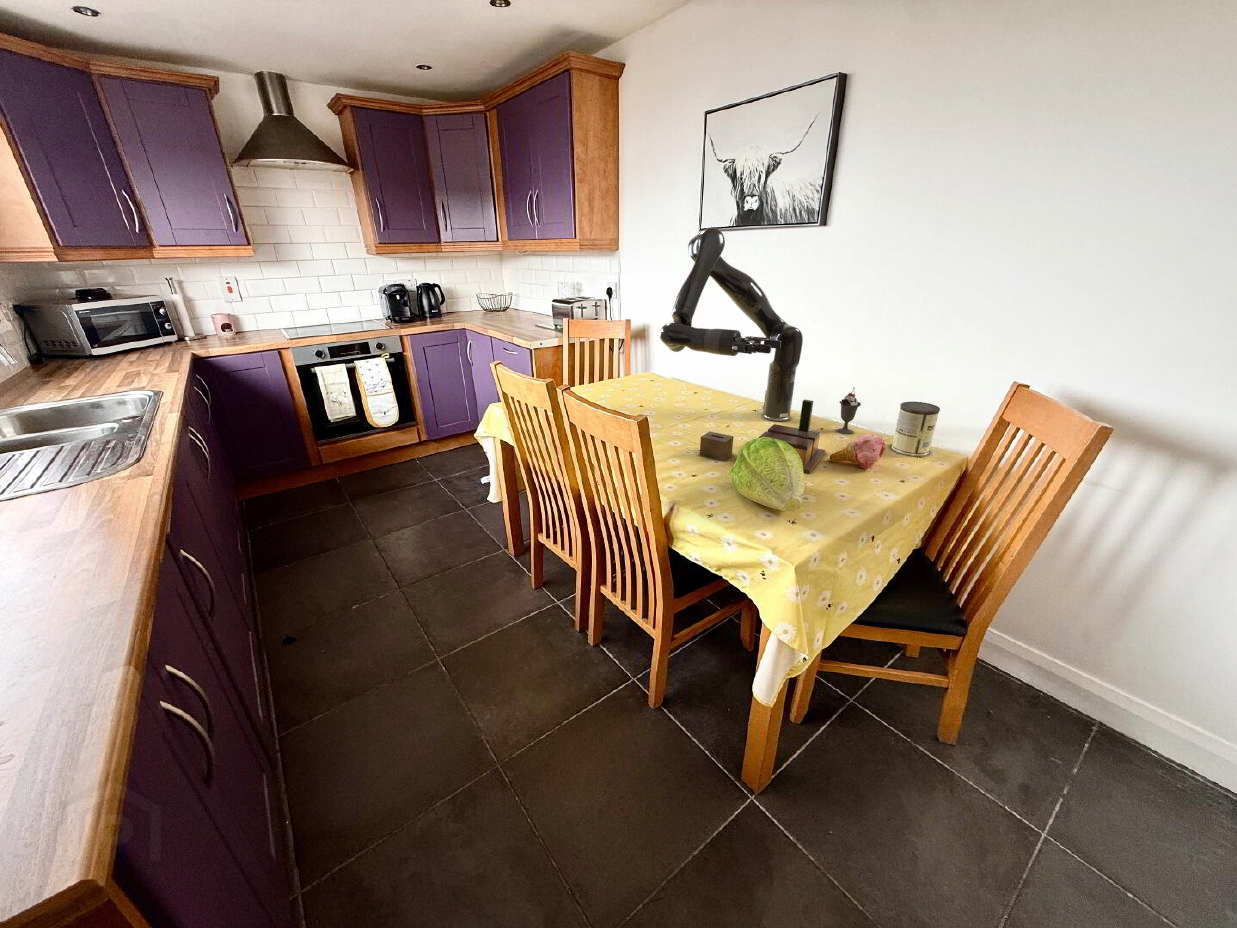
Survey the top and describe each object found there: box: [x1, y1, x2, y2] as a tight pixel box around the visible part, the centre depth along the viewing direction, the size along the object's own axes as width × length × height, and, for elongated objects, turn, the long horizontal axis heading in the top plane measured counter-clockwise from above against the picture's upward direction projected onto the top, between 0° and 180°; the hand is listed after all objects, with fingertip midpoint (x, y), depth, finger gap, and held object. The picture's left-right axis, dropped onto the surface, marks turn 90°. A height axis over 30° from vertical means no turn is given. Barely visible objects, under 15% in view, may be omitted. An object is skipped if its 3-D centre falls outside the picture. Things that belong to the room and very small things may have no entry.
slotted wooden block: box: [758, 423, 826, 474], centre depth 149 cm, size 18×18×7 cm
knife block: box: [699, 431, 734, 462], centre depth 151 cm, size 8×6×6 cm
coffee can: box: [891, 401, 941, 457], centre depth 151 cm, size 10×10×14 cm
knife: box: [797, 399, 814, 439], centre depth 145 cm, size 3×2×17 cm, turn 56°
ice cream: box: [829, 433, 886, 469], centre depth 143 cm, size 11×10×15 cm
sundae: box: [836, 386, 862, 435], centre depth 167 cm, size 7×7×15 cm
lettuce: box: [729, 437, 807, 513], centre depth 122 cm, size 17×24×14 cm
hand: (775, 347), depth 141 cm, fingers open, 8 cm apart
